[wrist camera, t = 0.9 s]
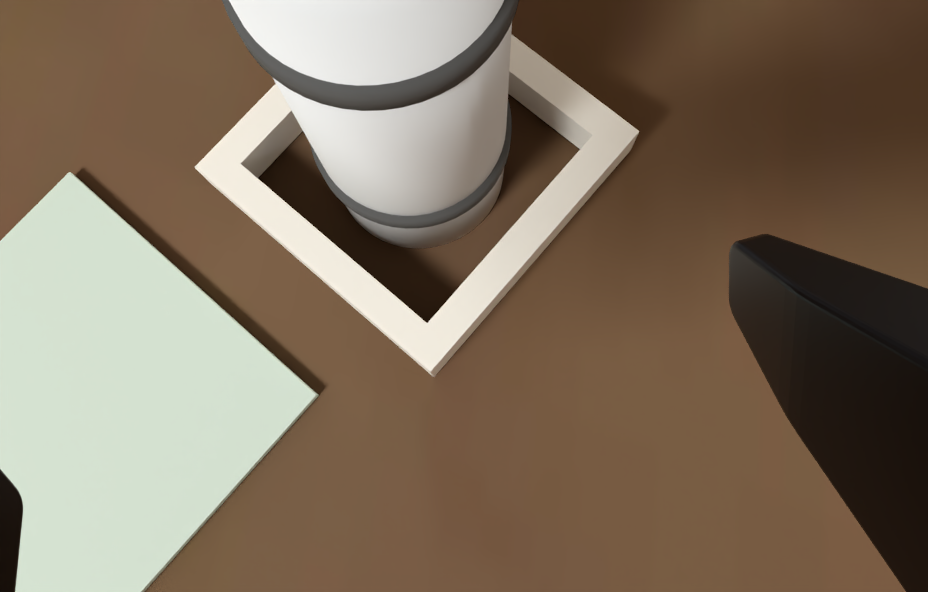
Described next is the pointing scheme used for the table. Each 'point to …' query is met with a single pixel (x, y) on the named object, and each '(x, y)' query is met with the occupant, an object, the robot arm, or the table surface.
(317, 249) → the white square frame
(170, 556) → the mat
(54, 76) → the table surface
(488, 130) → the grey-banded white cylinder
